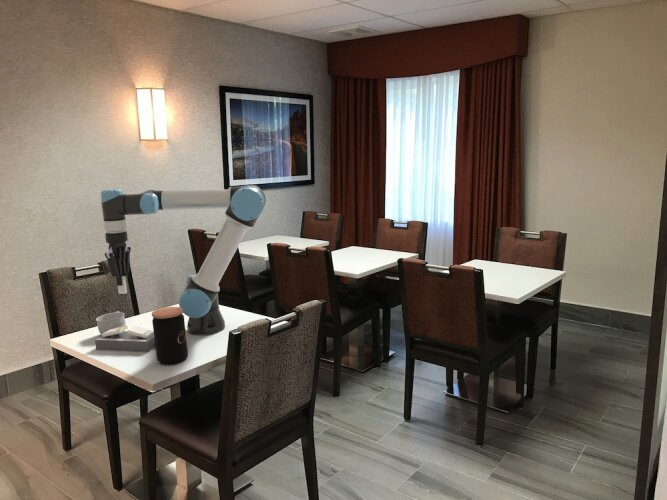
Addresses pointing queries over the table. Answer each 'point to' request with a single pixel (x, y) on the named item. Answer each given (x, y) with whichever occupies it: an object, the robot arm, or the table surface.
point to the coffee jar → (169, 335)
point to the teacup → (110, 321)
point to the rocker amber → (114, 331)
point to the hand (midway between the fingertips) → (122, 293)
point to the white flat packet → (140, 332)
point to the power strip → (125, 342)
